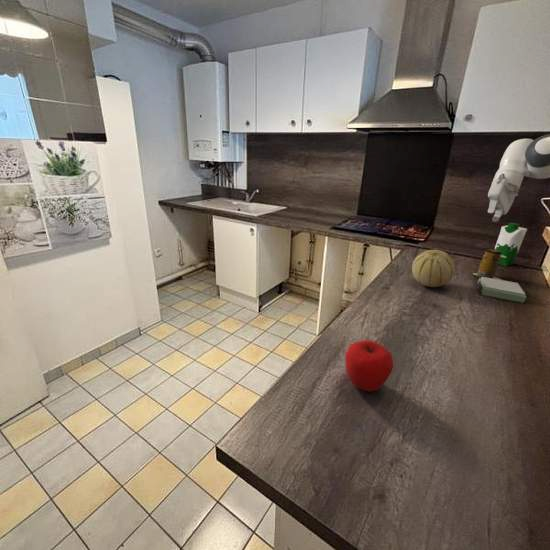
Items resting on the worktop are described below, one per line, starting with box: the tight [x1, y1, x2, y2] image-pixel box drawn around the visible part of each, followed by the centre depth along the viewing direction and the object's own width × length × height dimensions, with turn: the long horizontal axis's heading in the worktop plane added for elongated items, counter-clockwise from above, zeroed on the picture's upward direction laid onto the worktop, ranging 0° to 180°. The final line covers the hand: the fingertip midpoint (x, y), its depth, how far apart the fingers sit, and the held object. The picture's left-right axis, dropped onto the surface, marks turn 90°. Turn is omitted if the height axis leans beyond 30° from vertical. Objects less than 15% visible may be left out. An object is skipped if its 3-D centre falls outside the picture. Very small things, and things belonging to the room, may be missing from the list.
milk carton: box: [494, 222, 528, 267], centre depth 141 cm, size 9×9×20 cm
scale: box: [477, 277, 527, 304], centre depth 112 cm, size 13×12×3 cm
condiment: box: [471, 248, 502, 280], centre depth 124 cm, size 7×8×12 cm
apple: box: [344, 339, 394, 393], centre depth 63 cm, size 10×10×11 cm
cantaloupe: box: [411, 249, 456, 288], centre depth 114 cm, size 15×15×15 cm
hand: (492, 217), depth 112 cm, fingers open, 8 cm apart
